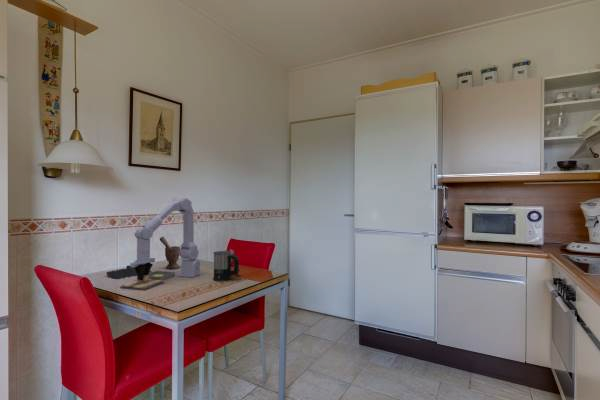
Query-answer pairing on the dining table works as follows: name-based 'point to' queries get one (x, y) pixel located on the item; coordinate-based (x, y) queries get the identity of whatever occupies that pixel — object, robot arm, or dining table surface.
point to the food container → (231, 254)
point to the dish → (161, 275)
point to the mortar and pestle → (171, 254)
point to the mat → (141, 288)
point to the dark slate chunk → (123, 273)
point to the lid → (142, 282)
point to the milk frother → (224, 265)
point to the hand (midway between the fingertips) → (142, 279)
